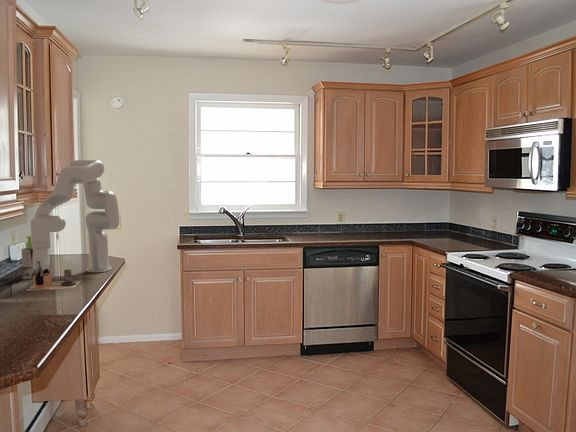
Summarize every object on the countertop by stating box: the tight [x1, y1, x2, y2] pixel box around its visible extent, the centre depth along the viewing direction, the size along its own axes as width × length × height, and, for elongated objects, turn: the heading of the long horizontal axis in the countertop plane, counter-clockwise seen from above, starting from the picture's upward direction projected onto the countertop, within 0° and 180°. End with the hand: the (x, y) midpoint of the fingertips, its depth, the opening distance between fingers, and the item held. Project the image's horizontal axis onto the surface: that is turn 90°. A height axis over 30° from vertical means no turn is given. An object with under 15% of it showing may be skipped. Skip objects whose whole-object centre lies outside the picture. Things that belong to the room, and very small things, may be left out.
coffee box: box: [21, 247, 44, 280], centre depth 258 cm, size 9×6×16 cm
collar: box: [33, 273, 53, 288], centre depth 240 cm, size 7×7×5 cm
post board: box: [25, 268, 82, 292], centre depth 241 cm, size 16×20×8 cm
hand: (42, 282), depth 240 cm, fingers open, 8 cm apart
